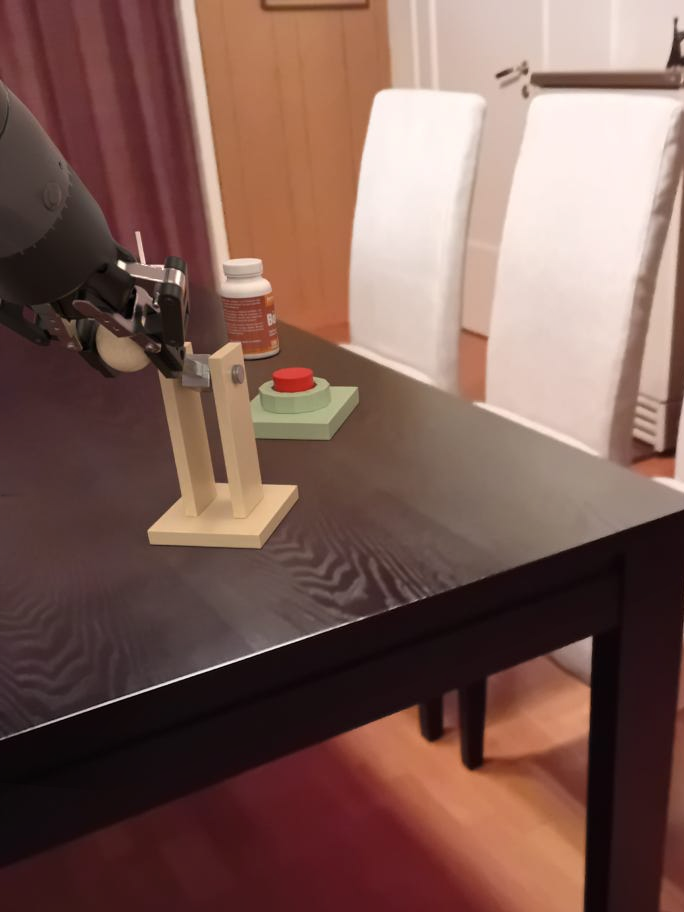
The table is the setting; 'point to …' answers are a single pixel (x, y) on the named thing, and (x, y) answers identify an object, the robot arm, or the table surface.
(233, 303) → the pill bottle
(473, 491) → the table surface
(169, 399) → the switch
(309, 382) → the stop button
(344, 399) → the stop panel
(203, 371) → the switch lever
